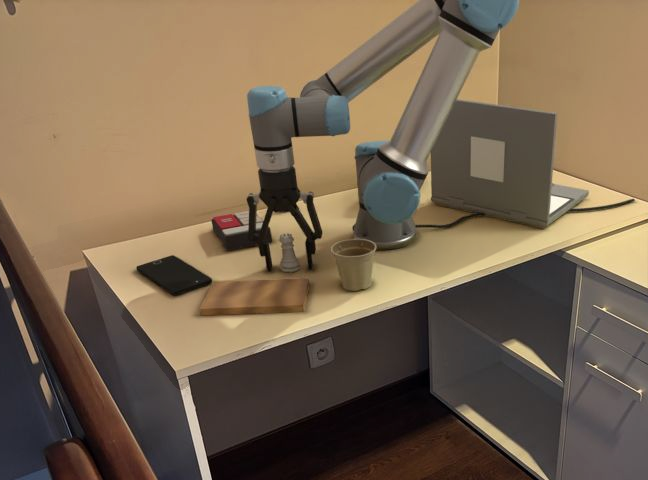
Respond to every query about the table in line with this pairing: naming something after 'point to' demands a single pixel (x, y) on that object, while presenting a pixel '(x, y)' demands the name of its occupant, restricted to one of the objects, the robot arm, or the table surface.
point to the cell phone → (174, 275)
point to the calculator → (237, 230)
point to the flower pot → (354, 262)
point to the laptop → (500, 164)
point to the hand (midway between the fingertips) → (290, 268)
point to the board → (256, 296)
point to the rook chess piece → (288, 254)
